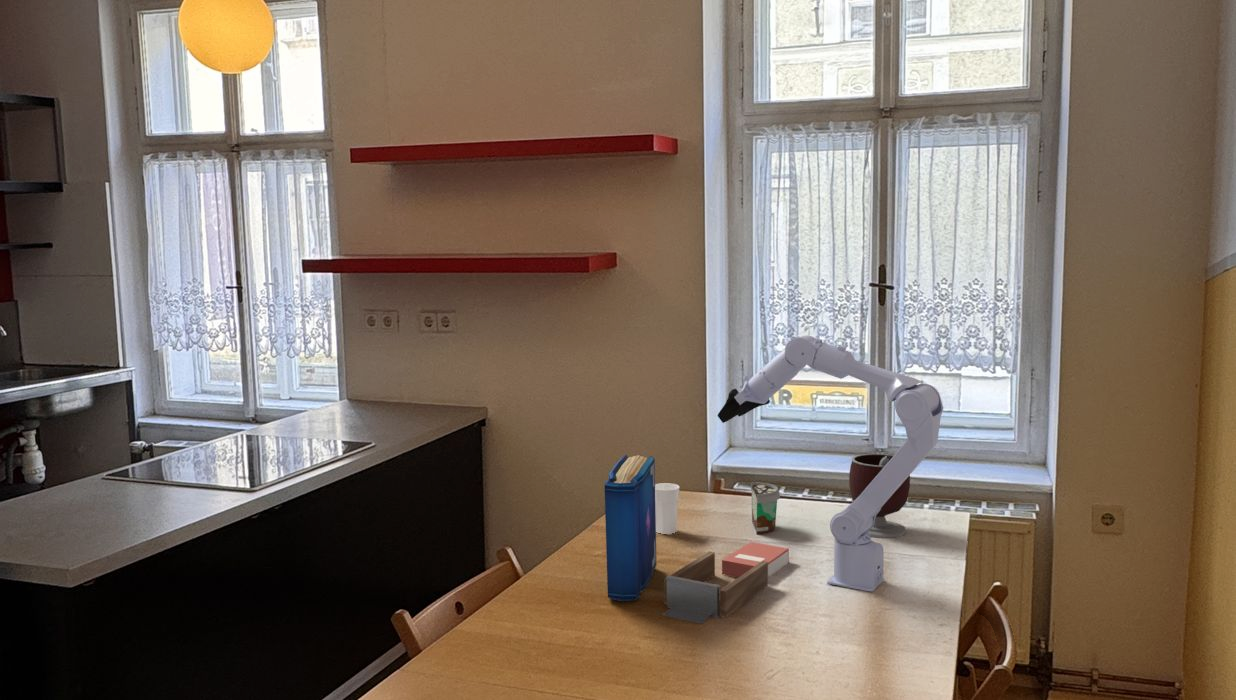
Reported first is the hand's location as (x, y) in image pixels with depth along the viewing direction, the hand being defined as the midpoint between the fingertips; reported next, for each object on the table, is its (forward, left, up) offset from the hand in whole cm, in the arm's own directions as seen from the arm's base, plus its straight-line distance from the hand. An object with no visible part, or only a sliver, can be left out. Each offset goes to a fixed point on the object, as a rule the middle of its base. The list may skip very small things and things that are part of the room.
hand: (728, 415), depth 213 cm
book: (+10, +24, -32) cm, 42 cm away
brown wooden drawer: (-7, +20, -32) cm, 38 cm away
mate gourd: (-22, -36, -32) cm, 53 cm away
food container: (+2, -25, -32) cm, 41 cm away
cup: (+22, -11, -32) cm, 41 cm away
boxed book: (-7, +2, -32) cm, 33 cm away
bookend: (-7, +32, -32) cm, 46 cm away
